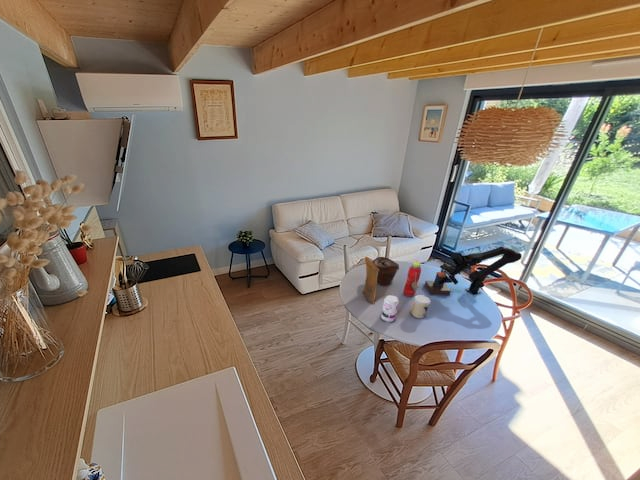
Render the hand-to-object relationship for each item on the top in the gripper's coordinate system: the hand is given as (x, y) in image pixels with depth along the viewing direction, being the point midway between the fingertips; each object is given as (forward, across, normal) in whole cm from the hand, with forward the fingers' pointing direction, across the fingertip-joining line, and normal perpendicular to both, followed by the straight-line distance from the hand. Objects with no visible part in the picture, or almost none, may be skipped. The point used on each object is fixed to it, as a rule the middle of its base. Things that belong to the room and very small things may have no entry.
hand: (437, 281), depth 200 cm
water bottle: (+20, +8, -9) cm, 23 cm away
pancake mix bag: (+40, +12, -30) cm, 51 cm away
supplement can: (+34, +35, -24) cm, 54 cm away
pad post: (+4, 0, +6) cm, 7 cm away
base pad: (+4, 0, +6) cm, 7 cm away
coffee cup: (+20, +29, -10) cm, 37 cm away
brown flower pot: (+30, -10, -19) cm, 37 cm away
